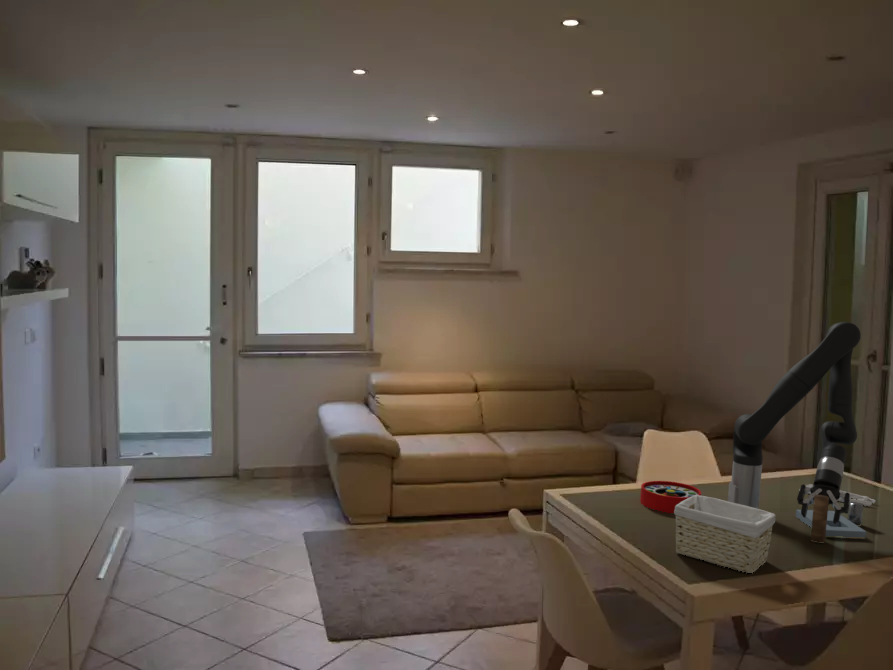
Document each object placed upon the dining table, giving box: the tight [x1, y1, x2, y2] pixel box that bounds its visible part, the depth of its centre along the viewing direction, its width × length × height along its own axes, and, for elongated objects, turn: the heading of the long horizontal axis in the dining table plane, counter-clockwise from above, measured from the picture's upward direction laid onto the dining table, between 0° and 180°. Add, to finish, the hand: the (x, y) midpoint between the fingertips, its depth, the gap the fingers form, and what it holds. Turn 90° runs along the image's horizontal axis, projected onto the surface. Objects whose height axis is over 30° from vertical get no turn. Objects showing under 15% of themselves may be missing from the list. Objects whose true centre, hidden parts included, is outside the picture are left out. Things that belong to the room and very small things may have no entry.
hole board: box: [795, 509, 867, 538], centre depth 252 cm, size 13×20×2 cm, turn 0°
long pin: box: [810, 495, 829, 543], centre depth 238 cm, size 4×4×14 cm
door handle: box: [798, 483, 876, 507], centre depth 286 cm, size 3×10×25 cm
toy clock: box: [639, 480, 702, 514], centre depth 269 cm, size 20×6×20 cm
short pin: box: [847, 502, 864, 525], centre depth 256 cm, size 4×4×7 cm
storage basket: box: [673, 495, 776, 574], centre depth 220 cm, size 24×16×15 cm
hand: (819, 519), depth 237 cm, fingers open, 8 cm apart
